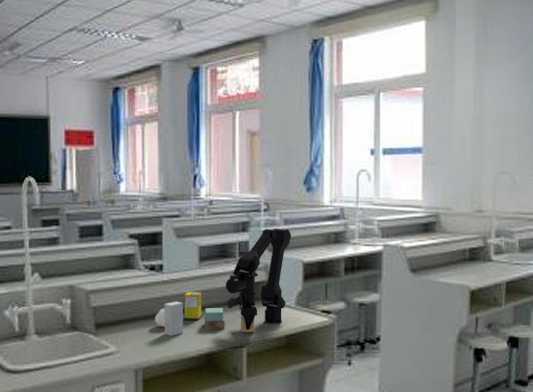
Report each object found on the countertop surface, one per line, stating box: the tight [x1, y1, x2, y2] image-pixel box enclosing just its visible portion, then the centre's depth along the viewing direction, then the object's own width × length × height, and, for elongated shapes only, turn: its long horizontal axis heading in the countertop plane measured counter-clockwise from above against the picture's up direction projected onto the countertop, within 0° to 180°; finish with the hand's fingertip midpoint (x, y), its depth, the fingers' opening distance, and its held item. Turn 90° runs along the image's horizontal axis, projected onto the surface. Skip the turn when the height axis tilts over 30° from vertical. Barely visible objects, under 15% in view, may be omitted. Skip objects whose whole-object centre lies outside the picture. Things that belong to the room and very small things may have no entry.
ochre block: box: [240, 315, 255, 333], centre depth 234 cm, size 5×5×5 cm
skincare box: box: [164, 301, 184, 337], centre depth 230 cm, size 6×4×12 cm
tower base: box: [204, 315, 226, 330], centre depth 241 cm, size 8×8×4 cm
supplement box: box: [184, 291, 202, 321], centre depth 253 cm, size 6×6×11 cm
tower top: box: [205, 307, 224, 321], centre depth 240 cm, size 7×7×4 cm
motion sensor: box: [154, 308, 165, 328], centre depth 240 cm, size 8×8×8 cm
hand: (247, 327), depth 234 cm, fingers closed on ochre block, 5 cm apart
